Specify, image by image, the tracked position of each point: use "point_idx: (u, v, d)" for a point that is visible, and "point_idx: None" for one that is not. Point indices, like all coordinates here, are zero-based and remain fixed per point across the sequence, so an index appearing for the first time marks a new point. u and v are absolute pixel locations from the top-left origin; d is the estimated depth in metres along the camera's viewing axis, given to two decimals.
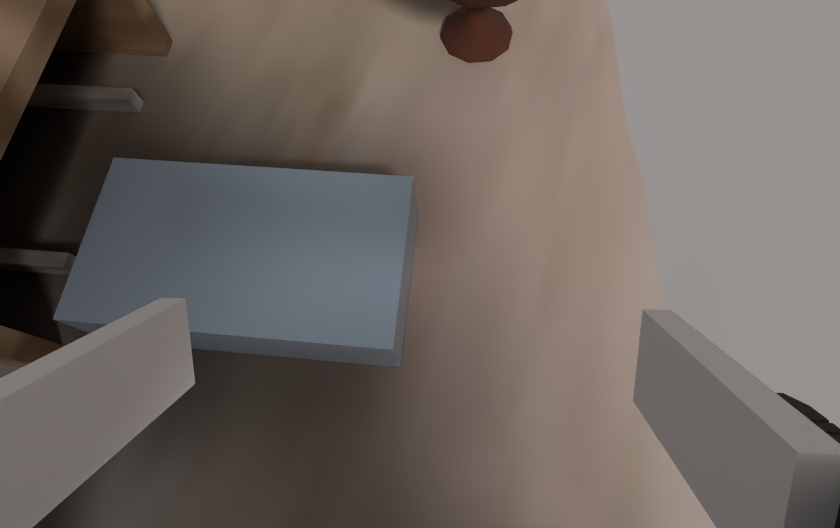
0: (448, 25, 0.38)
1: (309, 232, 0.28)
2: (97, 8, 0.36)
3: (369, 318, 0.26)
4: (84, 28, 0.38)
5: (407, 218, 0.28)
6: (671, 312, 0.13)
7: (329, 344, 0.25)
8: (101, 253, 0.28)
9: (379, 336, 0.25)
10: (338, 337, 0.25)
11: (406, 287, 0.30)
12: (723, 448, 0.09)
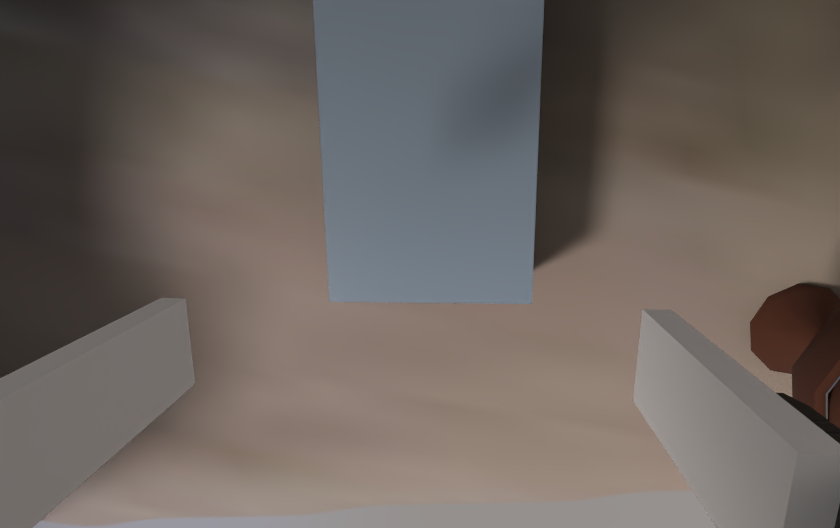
0: (816, 297, 0.28)
1: (450, 193, 0.24)
2: None
3: (357, 275, 0.25)
4: None
5: (476, 302, 0.25)
6: (671, 312, 0.13)
7: None
8: None
9: (340, 287, 0.25)
10: (333, 246, 0.24)
11: None
12: (723, 448, 0.09)
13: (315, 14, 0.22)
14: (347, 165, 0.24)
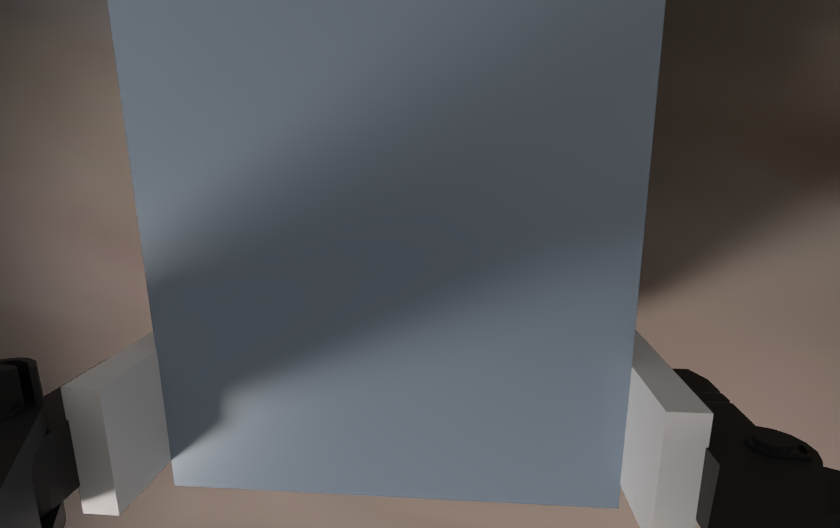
0: None
1: (433, 264, 0.10)
2: None
3: (230, 434, 0.11)
4: None
5: (492, 499, 0.11)
6: None
7: None
8: None
9: (195, 458, 0.11)
10: (175, 374, 0.11)
11: None
12: None
13: None
14: (192, 196, 0.10)
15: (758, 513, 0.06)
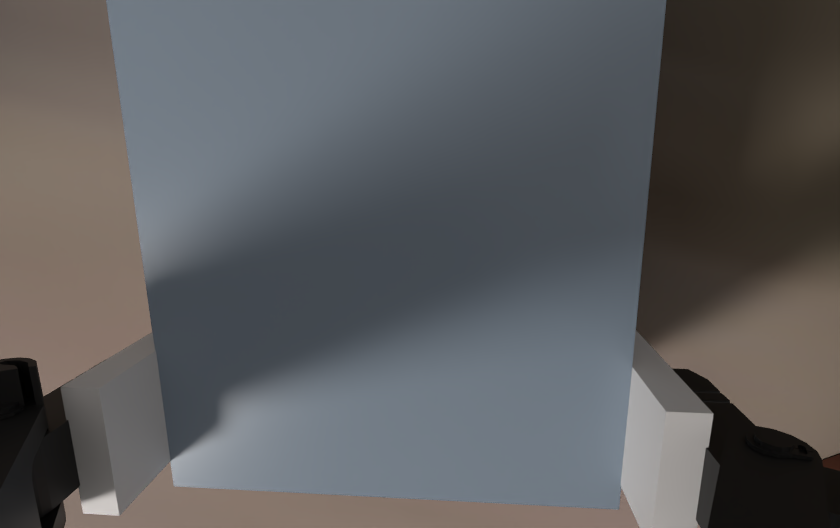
0: None
1: (433, 264, 0.10)
2: None
3: (230, 435, 0.11)
4: None
5: (492, 500, 0.11)
6: None
7: None
8: None
9: (195, 458, 0.11)
10: (174, 374, 0.11)
11: None
12: None
13: None
14: (191, 196, 0.10)
15: (758, 513, 0.06)
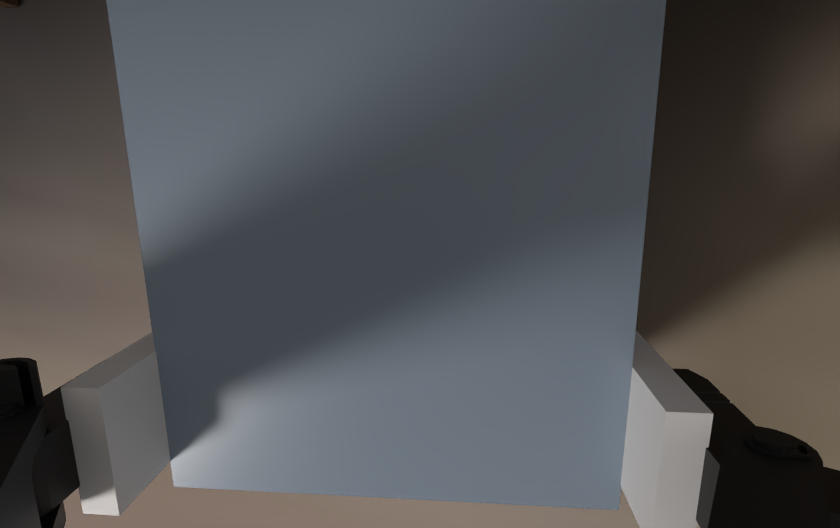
0: None
1: (433, 265, 0.10)
2: None
3: (230, 435, 0.11)
4: None
5: (492, 501, 0.11)
6: None
7: None
8: None
9: (195, 459, 0.11)
10: (174, 375, 0.11)
11: None
12: None
13: None
14: (191, 197, 0.10)
15: (758, 513, 0.06)
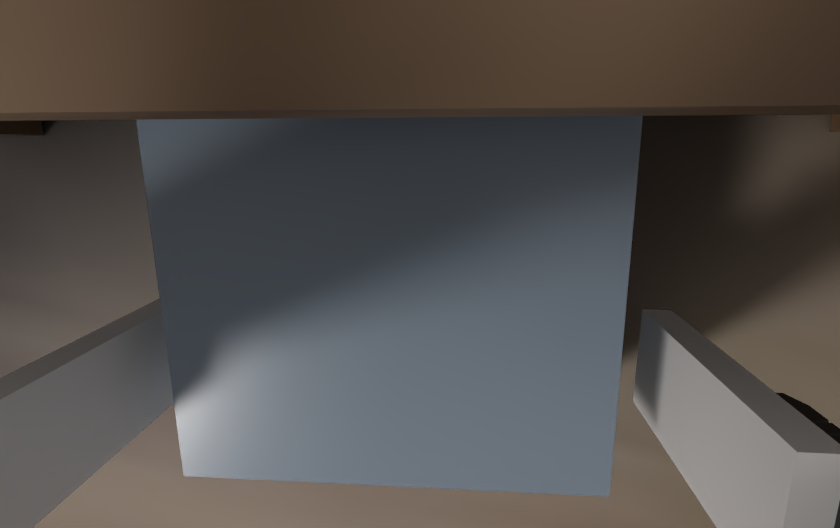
0: None
1: (432, 263, 0.10)
2: None
3: (238, 426, 0.12)
4: None
5: (489, 488, 0.12)
6: (671, 312, 0.13)
7: None
8: None
9: (204, 449, 0.12)
10: (185, 368, 0.11)
11: None
12: (723, 448, 0.09)
13: None
14: (201, 198, 0.11)
15: None
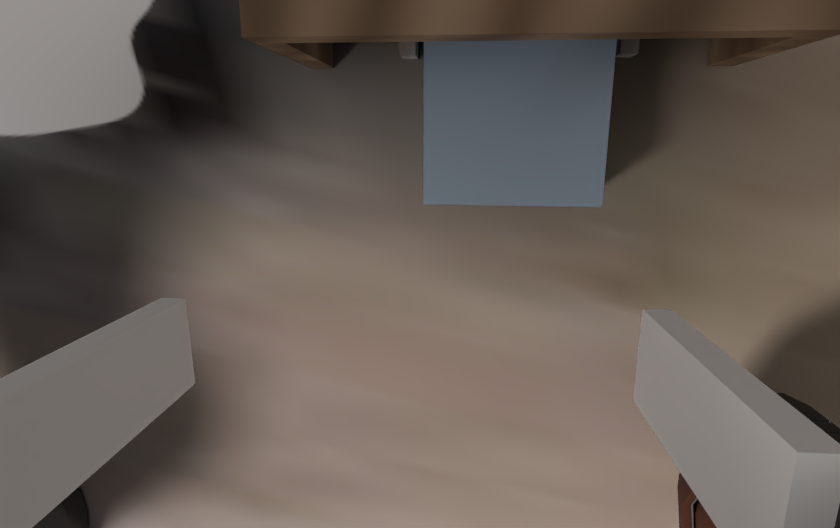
0: None
1: (535, 107, 0.27)
2: None
3: (449, 180, 0.29)
4: None
5: (552, 205, 0.28)
6: (671, 312, 0.13)
7: None
8: None
9: (433, 191, 0.29)
10: (430, 154, 0.28)
11: None
12: (723, 448, 0.09)
13: None
14: (445, 81, 0.27)
15: None
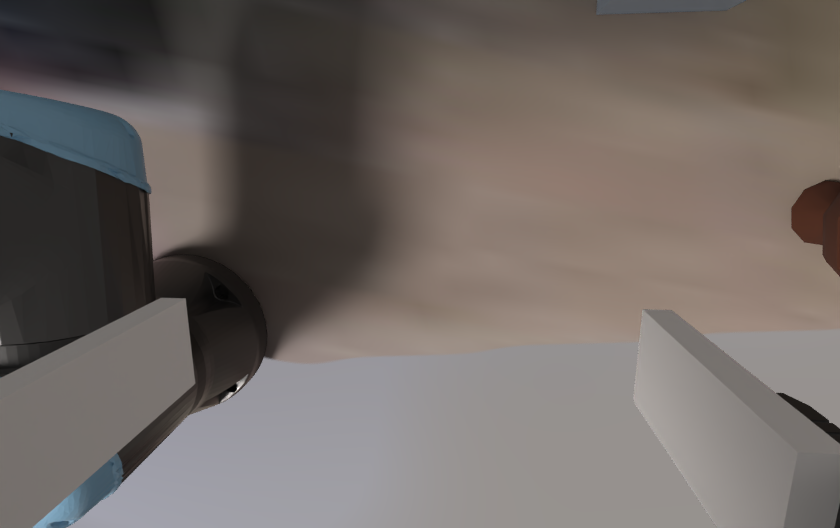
0: (837, 188, 0.41)
1: None
2: None
3: None
4: None
5: None
6: (671, 312, 0.13)
7: None
8: None
9: None
10: None
11: (661, 6, 0.38)
12: (723, 448, 0.09)
13: None
14: None
15: None
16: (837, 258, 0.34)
